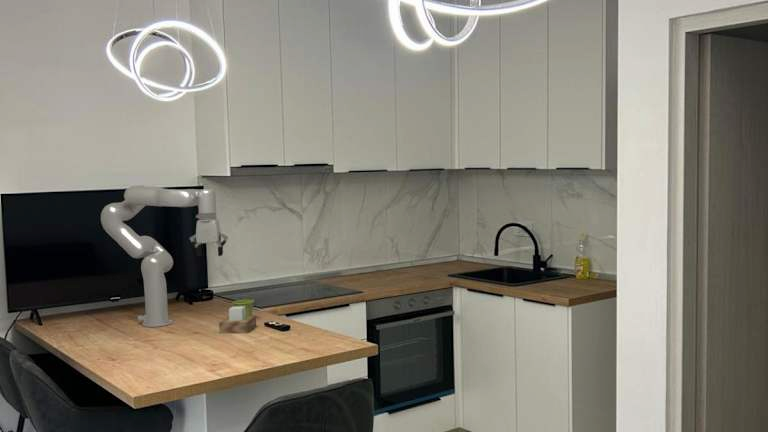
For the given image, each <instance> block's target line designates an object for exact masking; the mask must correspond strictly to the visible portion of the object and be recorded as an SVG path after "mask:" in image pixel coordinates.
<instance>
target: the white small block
mask: <svg viewBox="0 0 768 432" xmlns="http://www.w3.org/2000/svg"><path fill="white" fill-rule="evenodd" d="M228 317H229V321H243V320H244V319H245V318H246V311H245V306H241V307H235V306H231V307H230V308H228Z"/></svg>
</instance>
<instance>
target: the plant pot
mask: <svg viewBox="0 0 768 432" xmlns="http://www.w3.org/2000/svg"><path fill="white" fill-rule="evenodd" d="M254 303H255V300H254V299H239V300H235V301H232V304H233V307H241V306H245V311H246V317H253V315H252V314H253V306H254Z"/></svg>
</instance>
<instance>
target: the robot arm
mask: <svg viewBox="0 0 768 432" xmlns="http://www.w3.org/2000/svg"><path fill="white" fill-rule="evenodd" d="M123 197H124V200H123V201H121V202H112V203H109V204H107V205H105V206H104V207H103V209H102V211H101V213H100V222H101V225H102V228H103V230H105V232H106V233H107V234H108V235H109V236H110V238H112V239H113V240H114V241H115V242H117V244H118V245H119V246H120V247H121V248H122V249H123V250H124V251H125V252H126V253H127V254H128V255H129V256H130V257H132V258H133V259H141V258H143V259H142V261H141V266H140V269H141V274H142V279H143V288H144V289H143V290H144V291H143V292H144V305H145V306H144V307H145V308H144V310H145V314H144V315H138V316H137V320H138V321H143V322H142V327H146V328H157V327H158V328H159V327H164V326H169V325H171V324H172V323H173V320H172V319H169V307H168V306H169V304H168V293H167V292H168V290H167V289H168V288H167V281H166V280H167V279H166V277H165V274H164V273H167V272H169V271H170V270H171V269H172V268H173V265H174V259H173V257H172V256H171V254H170V253H169V252H168V251H167V250H166V249H165V248H164V247H163V246H162V245H161V244H160V243H159V242H158V241H157V240H156V239H155V238H153V237H151V236H148V235H141V236H140V235H139V234H137V232H135V230H133V229H132V228H131V227H130V226H129V225H127V224H126V223H124V221H129V220H131V219H132V218H134V217H135V216H136V215H137V214H139V212H141V210H143V208H145V207H146V206H151V207H152V206H153V207H175V208H176V207H177V208H188V207H189V208H190V207H195V206H197V207H198V214H195V218H196V219H198V220H197V221H196V227H195V228H196V229H195V234H194V235H192V236H190V237H189V240H190V242H191V244H192V245H193V246H194V248H195V253H196V256H197V257H202V247H201V245H202V244H217V256H218V257H221V256H223V254H224V249H223V248H224V246H225V245H226V244H227V241H228V239H229V236H227V235H226V234H224V233H222V231H221V226H220V223H219V220H218V219H217V218H218V217H217V202H216V201H217V199H216V198H217V196H216V191H215V189H213V188H205V189H195V188H192V189H191V188H189V189H174V188H172V189H170V188H169V189H168V188H164V187H162V186H145V185H133V186H132V185H131V186H129V187H127V188H126V189H125V191H124V194H123ZM222 239H223V240H222ZM221 240H222V241H221Z"/></svg>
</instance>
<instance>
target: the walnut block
mask: <svg viewBox="0 0 768 432" xmlns="http://www.w3.org/2000/svg"><path fill="white" fill-rule="evenodd" d="M218 327H219V328H218V329H219V334H220V335H222V334H248V333H250V332H251V330H252V331H253V330H255V329H256V328H257V316H252V317H246V318H245V319H244V320H243V321H229V316H228V317H226V318H224V319H223V320H221V321H220V322H218Z"/></svg>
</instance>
